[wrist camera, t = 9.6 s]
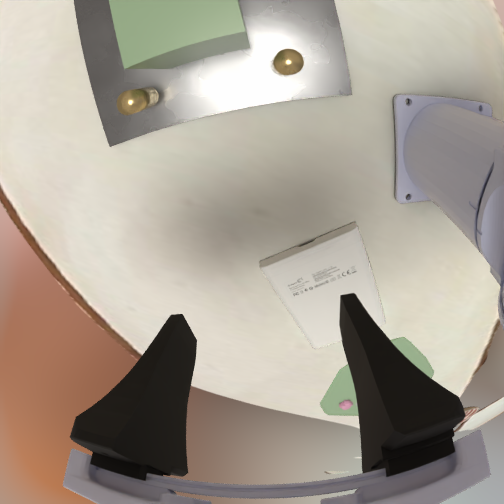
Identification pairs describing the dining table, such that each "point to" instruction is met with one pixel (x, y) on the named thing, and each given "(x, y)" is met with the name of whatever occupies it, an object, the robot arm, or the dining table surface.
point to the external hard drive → (324, 282)
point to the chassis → (216, 68)
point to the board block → (176, 31)
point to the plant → (342, 388)
